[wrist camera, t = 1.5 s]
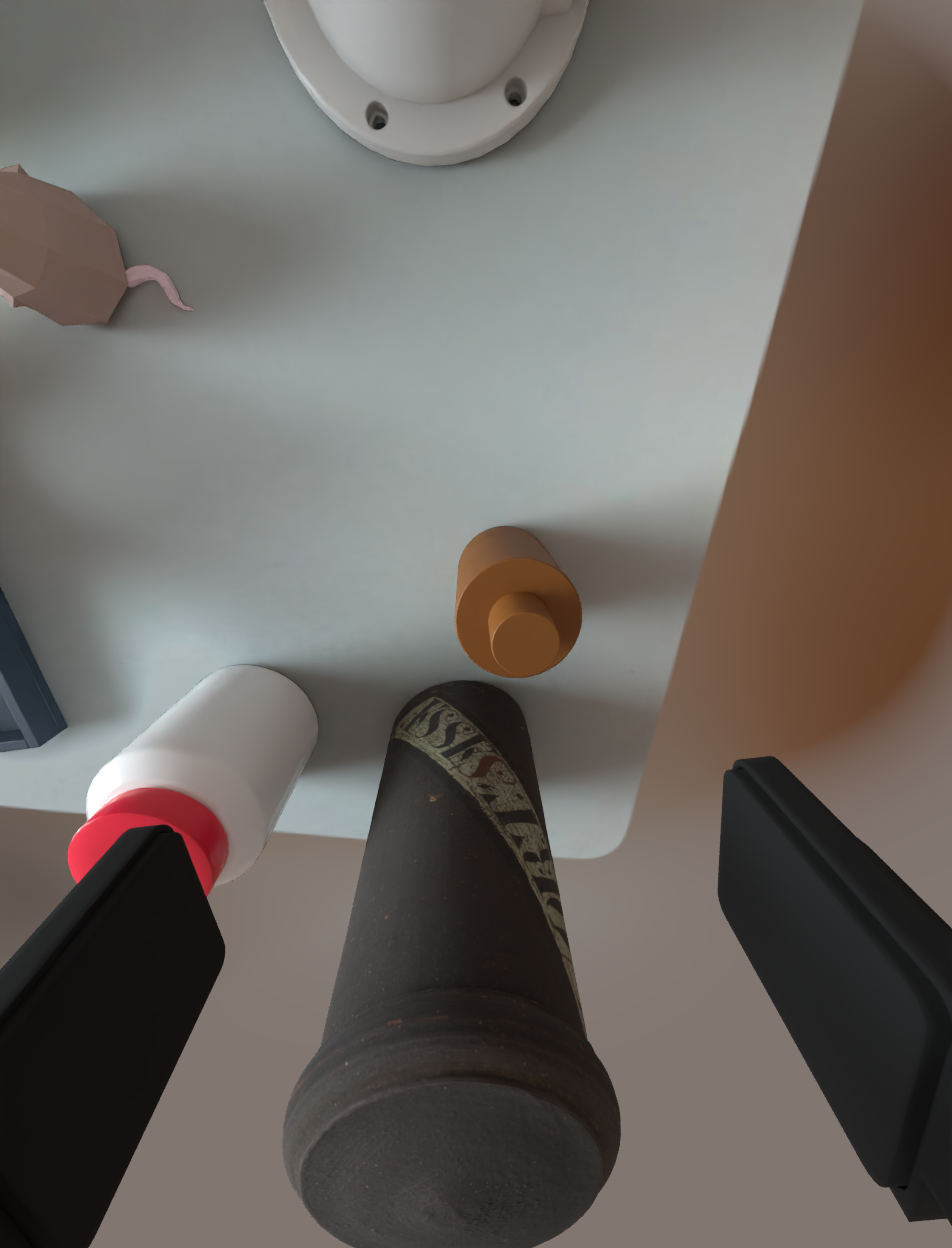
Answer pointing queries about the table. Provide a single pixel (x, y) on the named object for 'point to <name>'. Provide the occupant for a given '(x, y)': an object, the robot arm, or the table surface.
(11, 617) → the tray
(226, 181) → the table surface
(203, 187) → the table surface
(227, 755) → the pill bottle
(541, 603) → the amber bottle
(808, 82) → the table surface
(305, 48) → the robot arm
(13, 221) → the mouse figurine
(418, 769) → the container
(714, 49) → the table surface
